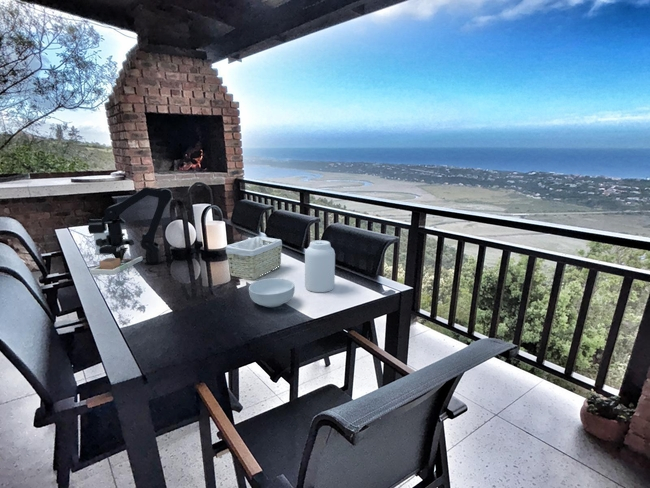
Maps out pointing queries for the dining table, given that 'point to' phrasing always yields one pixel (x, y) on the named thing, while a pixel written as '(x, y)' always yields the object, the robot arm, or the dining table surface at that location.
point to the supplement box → (98, 236)
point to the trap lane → (104, 271)
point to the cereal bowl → (271, 291)
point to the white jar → (319, 266)
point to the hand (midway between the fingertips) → (119, 262)
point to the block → (110, 263)
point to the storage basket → (254, 257)
